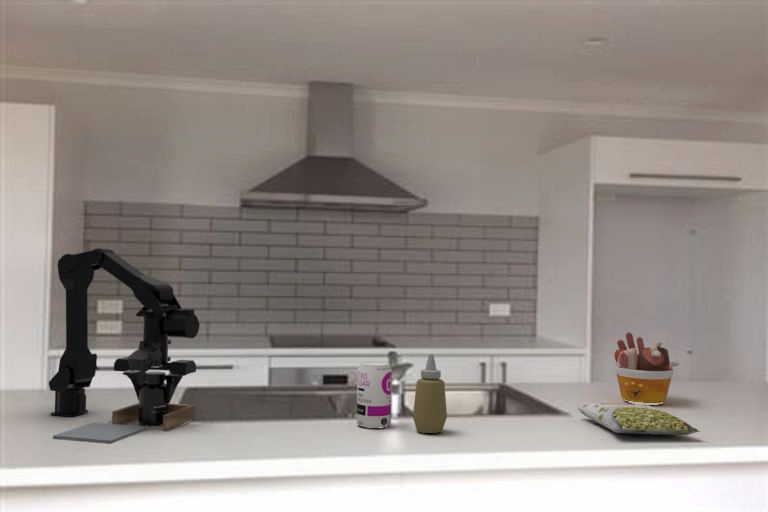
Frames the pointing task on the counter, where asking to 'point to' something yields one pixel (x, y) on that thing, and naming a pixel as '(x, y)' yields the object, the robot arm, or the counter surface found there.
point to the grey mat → (100, 432)
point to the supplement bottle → (153, 399)
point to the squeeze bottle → (430, 400)
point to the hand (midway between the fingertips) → (154, 402)
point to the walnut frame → (170, 421)
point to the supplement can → (374, 394)
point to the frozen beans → (636, 419)
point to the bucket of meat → (643, 371)
